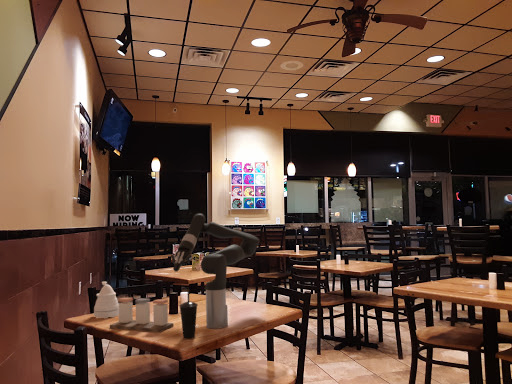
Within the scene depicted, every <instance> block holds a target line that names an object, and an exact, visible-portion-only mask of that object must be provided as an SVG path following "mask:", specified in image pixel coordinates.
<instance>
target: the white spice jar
mask: <svg viewBox="0 0 512 384" xmlns="http://www.w3.org/2000/svg"><path fill="white" fill-rule="evenodd" d="M133 300H134V297H121V298H117V301H118V304H119V316H118V322H122V323H128V322H131V321H133V320H134V318H133V316H134V315H133V313H134V311H133V309H134V308H133V306H134V305H133Z"/></svg>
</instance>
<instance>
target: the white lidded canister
mask: <svg viewBox="0 0 512 384" xmlns="http://www.w3.org/2000/svg"><path fill="white" fill-rule="evenodd" d="M168 302H169V301H168V299H162V298H160V299H154V300H153V301H152V304H154V305H153V308H152V309H153V322H154V325H160V326H163V325H166V324H168V323H169V321H168V317H169V316H168V311H169V309H168Z"/></svg>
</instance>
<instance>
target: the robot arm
mask: <svg viewBox="0 0 512 384" xmlns="http://www.w3.org/2000/svg"><path fill="white" fill-rule="evenodd" d="M201 233H202V234H209V235H211V236H213V237H215V238H218V239H230V238H238V239H239V238H240V239H242V241H241V242H240V244H239V245H238V244H231V245H228V246H226V247H225V248H223V249H221V250H219V251H217V252H214V253H210V254H209V253H208V254H206V255H204V256H203V257H202V260H201V262H200V268H201V271H202V272H203V273H205V274H208V275H215V277H214V279H213V280H211V281H209V282H206V284H205V309H206V310H205V312H206V320H205V321H206V323H205V324H206V328H207V329H211V330H212V329H224V328H225V327H228V326H229V323H228V321H229V320H228V319H229V318H228V317H229V314H228V304H227V298H226V297H227V296H226V295H227V294H226V290H227V289H226V285H227V268H228V267H227V266H230V265H234V264H237V263H238V262H239V261H241V260H243V259H245V258H247V257H248V258H249V257H251V256H253V255H255V253H256V250H257V248H258V246H259V245H260V239H259V237H257V236H256V235H253V234H251V233H247V232H245V231H241V230H237V229H233V228H229V227H227V226H224V225H221V224H219V223H216V222H214V221H211V222H209V223H206V216H205V215H204V214H203V213H196V214H194V216H193V218H192V219H191V222H190V225H189V227H188V229H187V230H186V233H185V235H183V238H182V240H181V242H180V243H179V246H178V247H177V251H176V252H175V254H170V258H171V261H172V263H173V264H174V265H173V269H172V270H173V271H174V272H178V271H179V270H180V269H181V266H185V265H187V264H189V263H190V262H191V261H192V260H193V259H194V257H193V255H192V253H193V251H194V248H195V246H196V244H197V241H198V239H199V237H200V234H201Z"/></svg>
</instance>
